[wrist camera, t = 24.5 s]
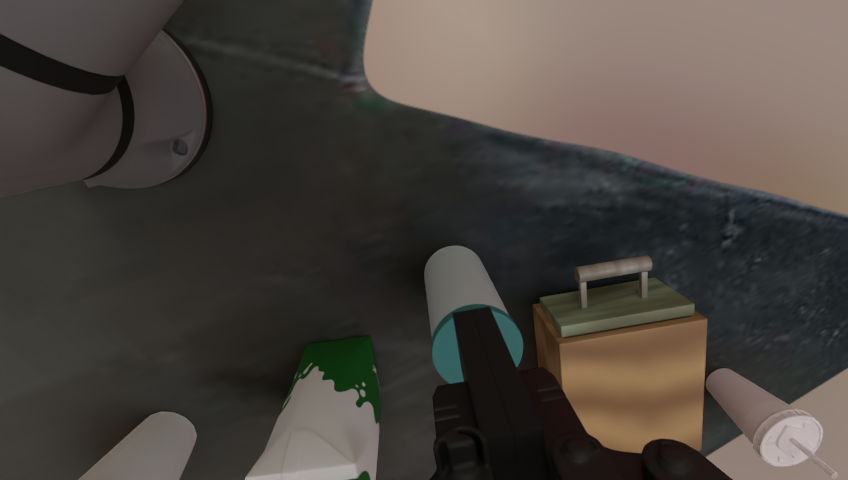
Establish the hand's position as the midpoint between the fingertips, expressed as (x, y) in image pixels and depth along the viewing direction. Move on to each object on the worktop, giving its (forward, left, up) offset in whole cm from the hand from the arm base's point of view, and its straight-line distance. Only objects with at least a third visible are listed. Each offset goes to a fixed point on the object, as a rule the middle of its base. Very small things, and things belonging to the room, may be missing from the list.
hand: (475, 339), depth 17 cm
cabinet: (+21, +16, -26) cm, 37 cm away
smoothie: (+28, +31, -27) cm, 50 cm away
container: (+8, +1, -26) cm, 28 cm away
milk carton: (+17, -13, -27) cm, 34 cm away
